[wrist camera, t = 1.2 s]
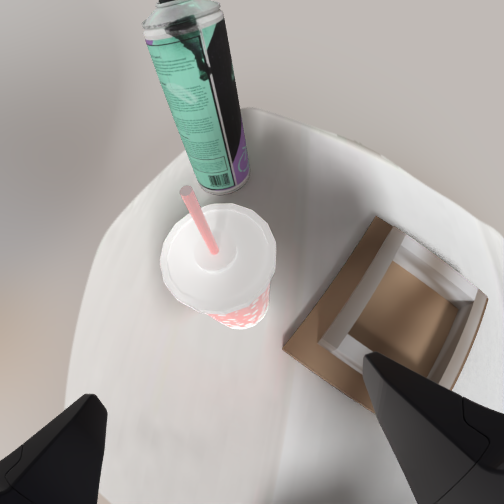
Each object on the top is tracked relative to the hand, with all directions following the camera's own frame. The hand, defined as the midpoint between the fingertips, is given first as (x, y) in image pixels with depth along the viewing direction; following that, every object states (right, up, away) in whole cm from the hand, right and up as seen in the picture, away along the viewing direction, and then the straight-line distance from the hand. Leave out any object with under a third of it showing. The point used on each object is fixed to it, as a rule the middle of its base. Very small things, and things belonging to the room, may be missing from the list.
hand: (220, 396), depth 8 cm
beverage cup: (0, 0, +15) cm, 15 cm away
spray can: (-2, +12, +21) cm, 24 cm away
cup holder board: (+13, -2, +12) cm, 18 cm away
